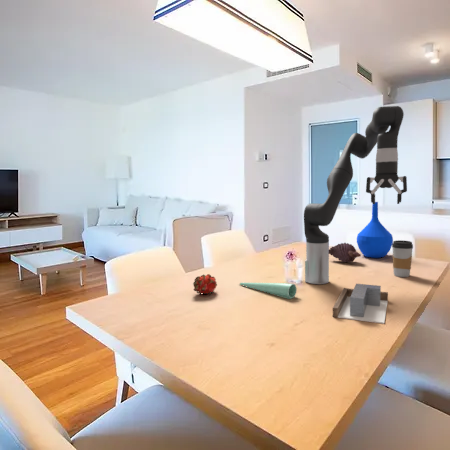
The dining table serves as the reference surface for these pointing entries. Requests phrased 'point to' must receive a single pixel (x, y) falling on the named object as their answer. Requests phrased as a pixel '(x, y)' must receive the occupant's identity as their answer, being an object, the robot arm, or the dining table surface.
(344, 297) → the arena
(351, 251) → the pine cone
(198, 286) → the dragon fruit
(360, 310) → the bracket
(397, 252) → the coffee cup
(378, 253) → the vase
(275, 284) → the mint green cone
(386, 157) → the robot arm
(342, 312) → the mat
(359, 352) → the dining table surface
